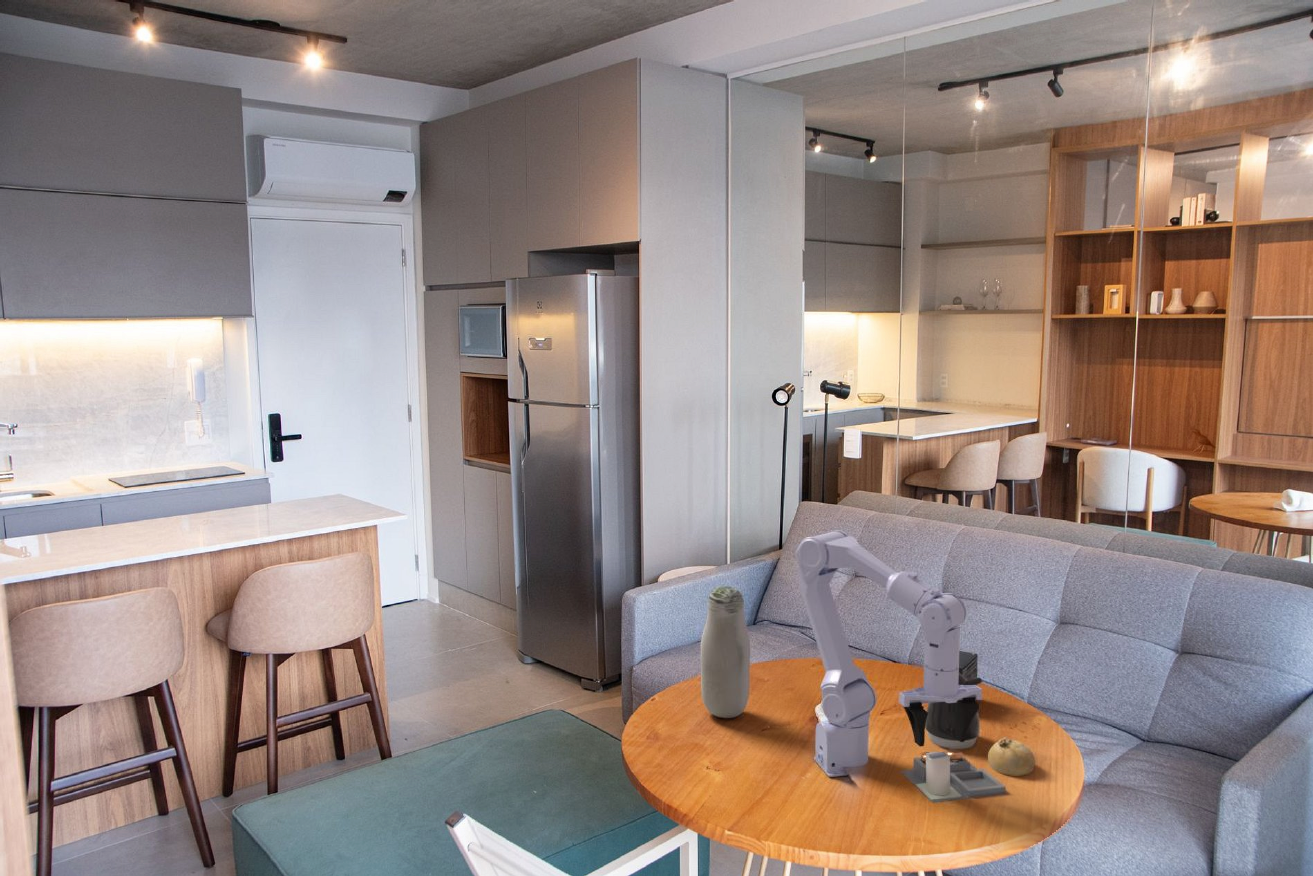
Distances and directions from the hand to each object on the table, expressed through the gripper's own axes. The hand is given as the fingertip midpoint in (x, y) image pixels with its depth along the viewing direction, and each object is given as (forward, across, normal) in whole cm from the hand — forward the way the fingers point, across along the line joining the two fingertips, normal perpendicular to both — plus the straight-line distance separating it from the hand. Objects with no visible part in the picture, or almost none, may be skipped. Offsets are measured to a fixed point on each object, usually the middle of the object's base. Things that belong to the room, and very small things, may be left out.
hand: (939, 742), depth 162 cm
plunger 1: (+8, +2, +6) cm, 10 cm away
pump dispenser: (+11, +13, +18) cm, 25 cm away
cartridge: (+9, 0, 0) cm, 9 cm away
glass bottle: (+11, -26, +44) cm, 52 cm away
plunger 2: (+8, +6, +6) cm, 12 cm away
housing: (+10, +4, +2) cm, 11 cm away
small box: (+11, +25, +38) cm, 47 cm away
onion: (+11, +18, +6) cm, 21 cm away
